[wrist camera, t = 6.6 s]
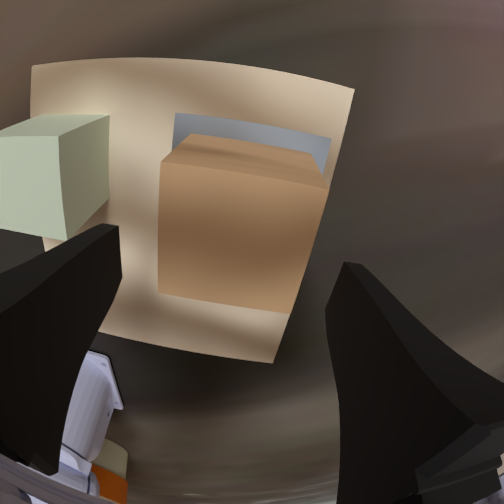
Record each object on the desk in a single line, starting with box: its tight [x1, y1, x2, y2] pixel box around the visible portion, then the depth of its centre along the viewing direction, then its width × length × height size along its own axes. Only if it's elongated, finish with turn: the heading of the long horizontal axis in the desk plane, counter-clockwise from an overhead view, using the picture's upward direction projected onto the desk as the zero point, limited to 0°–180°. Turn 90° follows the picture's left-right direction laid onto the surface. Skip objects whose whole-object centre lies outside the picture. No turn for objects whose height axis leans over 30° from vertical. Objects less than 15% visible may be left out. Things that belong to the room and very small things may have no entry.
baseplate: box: [30, 58, 355, 363], centre depth 17 cm, size 18×16×1 cm
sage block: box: [0, 114, 110, 241], centre depth 12 cm, size 4×4×4 cm
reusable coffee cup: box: [90, 438, 128, 504], centre depth 31 cm, size 13×13×15 cm
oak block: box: [158, 134, 329, 314], centre depth 13 cm, size 5×5×4 cm
